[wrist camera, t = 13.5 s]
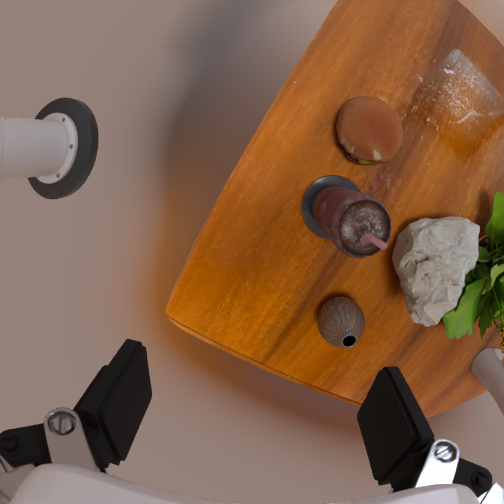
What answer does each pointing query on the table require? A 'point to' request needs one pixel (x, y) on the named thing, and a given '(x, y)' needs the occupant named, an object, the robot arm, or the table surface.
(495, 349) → the candle
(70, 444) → the robot arm
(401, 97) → the table surface
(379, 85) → the table surface
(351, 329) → the vase
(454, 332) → the potted flower
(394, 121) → the burger
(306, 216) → the coaster
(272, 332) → the table surface
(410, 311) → the stone
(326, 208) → the can
